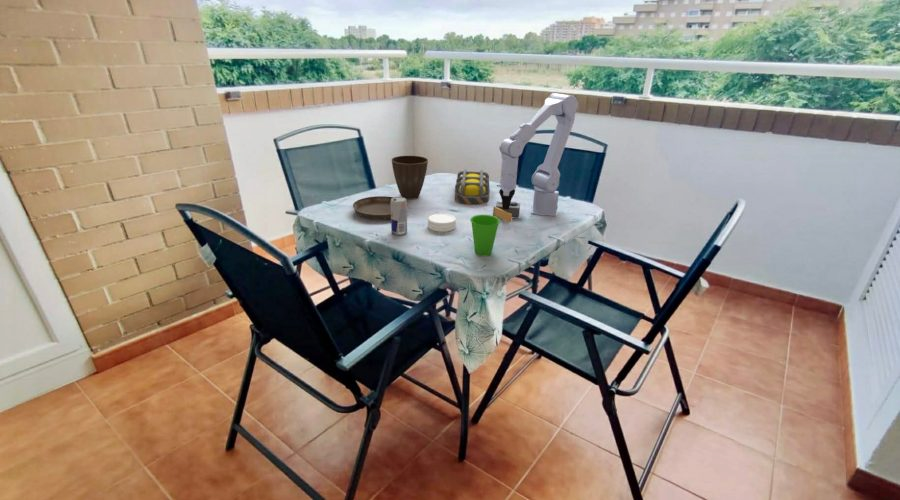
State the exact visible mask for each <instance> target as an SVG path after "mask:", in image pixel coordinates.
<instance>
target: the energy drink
mask: <svg viewBox="0 0 900 500" xmlns="http://www.w3.org/2000/svg"><path fill="white" fill-rule="evenodd" d="M393 197H394V196H393ZM390 204H391V219H390V225H391V227H390V228H391V233H392V235H395V236H404V235H406V234H407V233H408V210H407V209H408V203H407V199H406V198H404V197H401V196H395V197H394V198H392V199H391V202H390Z"/></svg>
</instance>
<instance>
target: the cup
mask: <svg viewBox="0 0 900 500" xmlns="http://www.w3.org/2000/svg"><path fill="white" fill-rule="evenodd" d="M469 219H470V220H469V221H470V223H471V229H472V237H473V245H474V246H473V248H474V252H475V254H476V255H477V256H480V257H481V256H482V257H487V256H490V255H491V254H492V251H493V248H494V244H495V239H496V236H497V232H498V228H499V225H500V223H501V219H500V218H499V217H497V216H493V214H492V215H491V214H476V215H473V216H471V217H470V218H469Z"/></svg>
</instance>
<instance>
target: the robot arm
mask: <svg viewBox="0 0 900 500" xmlns="http://www.w3.org/2000/svg"><path fill="white" fill-rule="evenodd" d="M578 107H579V102H578V99H577V97H576V96H575V95H573V94H564V93H558V92H552V93H551V94H550V95H549V96H548V97H547V98H546V99H545V100H544V104H543V106H541V107H540V109H539V110H538V111H537V112H536V113H535V115H534V116H533V117H532V118H531V120H529V122H524V123H522V124H520V125H519V127H518V128H517V130H516V131H514V133H512V134H510V137H509V138H504V140H503V141H502V142H501V144H500V146H499V151H500V154H501V168H500V169H501V170H500V181H499V182H500V183H499V182H498V183H496V187H498V188H500V189H499V196H500V198H501V199H500V200H501V201H502V207H503V209H507V210H508V209H509V206H510V203H511V202H512V199H513V197H514V196H515V194H516V188H517V176H518V165H519V157H520V156H521V155H522V154H523V151H524V148H525V146H526V145H528V143H529V142H530V141H531V140H532V139H533V138H534V136H535V135H536V130H537V129H538V128H539V127H540V126H541V125H543V124H544V122H545V121H547V120H548V119H549V118H550V117H551V116H554V117H555V119H556V121H557V125H556V127H555V128H554V129H555V130H554V132H553V135H552V138H551V141H550V142H549V146H548V149H547V152H546V155H545V157H544V161H543V163H541V164H539V165H538V166H537V168H536V170H535V172H534V173H533V174H532V176H531V184H532V185H533V189H534V191H533V201H532V206H531V211H530V213H531V214H532V215H538V216H539V215H540V216H541V215H543V216H550V217H551V216H552V217H553V216H554V217H555V216H557V211H558V202H559V191H558V190H557V189H558V188H559V185H560V178H561V172H560V170H559V168H558V167H559V164H560V162H561V159H562V155H563V153H564V150H565V147H566V145H567V142H568V139H569V137H570V134H571V132H572V131H571V130H572V128H573V125H574V123H575V118H576V117H575V116H576V112H577V111H578Z"/></svg>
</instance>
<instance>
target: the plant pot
mask: <svg viewBox="0 0 900 500" xmlns="http://www.w3.org/2000/svg"><path fill="white" fill-rule="evenodd" d="M428 163H429V159H428V158H426V157H424V156H418V155H400V156H394V157H392V158H391V165H392V166H391V167H392V170H393V171H392V172H393V176H394V179H395V183H396V187H397V188H398V192H399V195H400V197H404V198H406V200H416V199H418V198H419V197H420V194H421V192H422V190H423V186H424V183H425V178H426V175H427V169H428Z"/></svg>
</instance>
